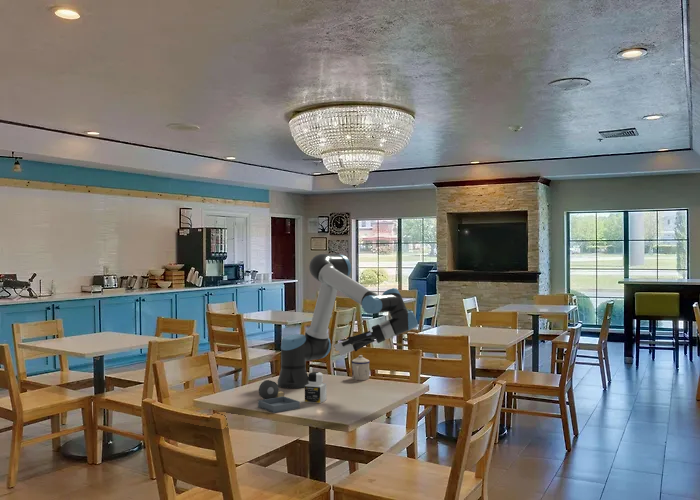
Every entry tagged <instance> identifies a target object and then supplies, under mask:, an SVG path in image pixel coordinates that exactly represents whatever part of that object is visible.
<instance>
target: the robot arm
mask: <svg viewBox="0 0 700 500" xmlns="http://www.w3.org/2000/svg"><path fill="white" fill-rule="evenodd" d="M351 264H352V263H351V262H350V259H349V258H348V257H347V256H346V255H345V254H340V253H320V254H317V255H315V256H314V257H313V258H311V260H310V262H309V265H308V267H309V269H308V270H309V273H310V274H311V276H312V277H313V278H314V279H315V280H317V281H318V282H320V286H319V290H318V295H317V299H316V303H315V306H314V310H313V314H312V319H311V323H310V326H309V328H307V329H306V330H305V333H304V334H291V335H287V336H284V337H282V339H281V342H280V343H281V344H280V360H281V361H280V372H279V376H278V378H277V382H276V383H277V385H278V388H283V389H302V388H303V389H304V388H305V385H307V384H309V382H308V375H309V373H308V372H307V368H306V367H307V366H306V365H307V364H306V363H307V362H308V361H315V360H320V359H324V358H325V357H327V356H328V355H329V354H330V351H331V349H332V348H331V347H332V343H331V339H330V334H329V333H328V329H329V325H330V322H331V318H332V315H333V314H332V313H333V310H334V308H335V303H336V298H337V294H338V292H340V293H342V294H343V295H345V296H346V297H348V298H350V299H351V300H353V301H354V302H355V303H358V304H359V305H361V307H362V309H363V311H364V312H365V313H367V314H372V315H373V314H379V313H389V314H390V317H391V318H390V319H387V320H385V321H382V322H380V324H378V323H377V324H375V325H373V326H371V330H372V331H371V330H368V331H365V332H363V333H358V334H355V335H352V336H348V337H347V339H345V340H343V341H340V342H337V343H335V344H334V345H333V346H334V348H335V351H336V352H339V353H338V354H340V357H341V356H344V355H346V354H348V353H351V352H353V351H354V352H358V350H361V348H364V347H366V346H369V344H371V343H374V342H375V341H376V342H377V343H378V344H379V343H381V342H385V341H386V340H388V339H394V337H396V336H398V335H399V336H400V335H401V334H404V333H406V332H408V331H411V330H412V329H415V328H417V327H418V324H419V323H418V320H417V317H416V315H415V313H414V311H413V310H408V309H407V307H406V305H405V302H404V300H403V296H402V294H401V293H400V291H399V289H398V288H396V287H392V288H389V289H387V290H385V291H384V292H383V293H382V294H378V293H376V292H374V291H373V290H371V289H369V288H367V286H364V285H363V284H361V283H360V282H358V281H356V280H355V279H353V278H351V277H350V275H351V272H352V265H351Z"/></svg>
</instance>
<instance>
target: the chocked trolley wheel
mask: <svg viewBox="0 0 700 500" xmlns="http://www.w3.org/2000/svg"><path fill="white" fill-rule="evenodd" d="M279 388H280V387H278V385H277V382H275V381H273V380H270V379H267V380H264V381H262V382H261V383H260V385H259V386H258V394H259V396H260V398H261V399H262V400H265V399H271V398H277V397H283V396H284V397H285V392H284V391H281V390H280V391H279Z"/></svg>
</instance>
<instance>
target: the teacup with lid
mask: <svg viewBox="0 0 700 500" xmlns="http://www.w3.org/2000/svg"><path fill="white" fill-rule="evenodd" d="M351 379H353V380H355V381H366V380H367V381H368V380H369V379H370V360H369V359H367V358H365V357H363V354H359V355H358V357H356V358H354V359H351Z"/></svg>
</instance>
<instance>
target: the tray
mask: <svg viewBox="0 0 700 500" xmlns="http://www.w3.org/2000/svg"><path fill="white" fill-rule="evenodd" d="M257 406H258V408H260V409H262V410H265V411H267V412H270V413H272V414H275V413H280V412H281V413H282V412H288V411H290V410H291V411H292V410H298V409H300V408H301V401H299V400H296V399H293V398H290V397H287V396H285V395H284V396H283V397H277V398H271V399H259V400H257Z"/></svg>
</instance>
